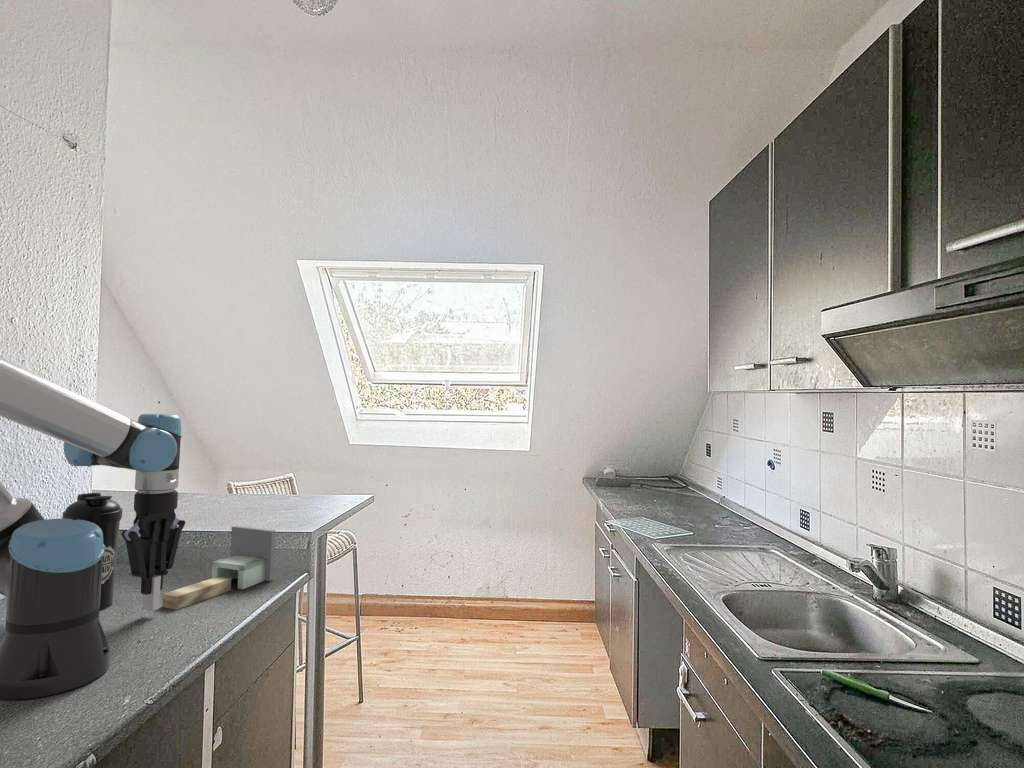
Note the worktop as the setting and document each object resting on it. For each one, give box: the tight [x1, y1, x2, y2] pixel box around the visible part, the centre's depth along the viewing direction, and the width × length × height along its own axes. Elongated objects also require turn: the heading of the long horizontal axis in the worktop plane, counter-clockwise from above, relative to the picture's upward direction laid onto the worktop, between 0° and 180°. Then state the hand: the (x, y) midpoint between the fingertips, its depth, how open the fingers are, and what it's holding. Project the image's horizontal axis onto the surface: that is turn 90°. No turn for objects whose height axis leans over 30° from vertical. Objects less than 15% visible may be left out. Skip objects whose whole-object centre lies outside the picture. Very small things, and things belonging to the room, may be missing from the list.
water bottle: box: [61, 492, 123, 611], centre depth 122 cm, size 10×10×23 cm
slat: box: [161, 576, 232, 610], centre depth 129 cm, size 14×4×3 cm, turn 159°
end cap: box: [211, 525, 276, 590], centre depth 141 cm, size 8×12×12 cm
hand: (150, 608), depth 118 cm, fingers closed
